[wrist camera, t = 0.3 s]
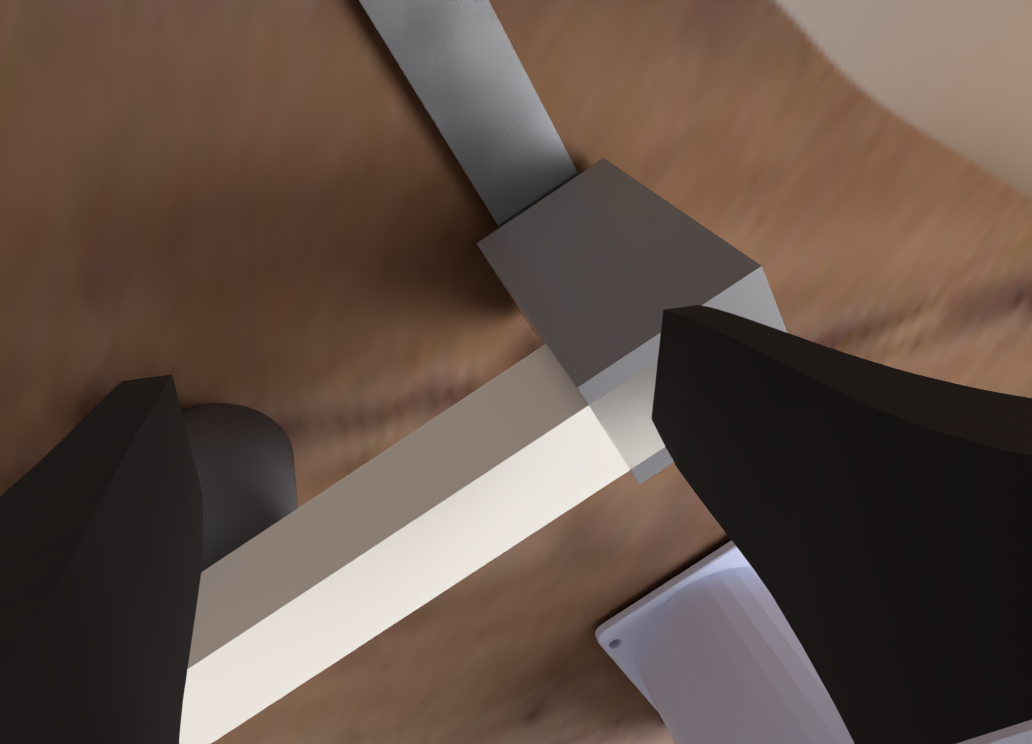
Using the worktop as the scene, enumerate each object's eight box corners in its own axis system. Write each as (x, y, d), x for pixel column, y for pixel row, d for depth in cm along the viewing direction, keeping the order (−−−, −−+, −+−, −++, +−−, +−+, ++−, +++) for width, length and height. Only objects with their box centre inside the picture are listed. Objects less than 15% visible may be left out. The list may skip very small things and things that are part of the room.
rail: (636, 292, 23) (642, 297, 23) (567, 338, 23) (572, 344, 23) (445, -76, 17) (449, -75, 17) (351, -11, 17) (353, -10, 17)
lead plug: (321, 467, 23) (338, 587, 19) (212, 540, 23) (204, 675, 19) (230, 377, 21) (226, 491, 17) (109, 459, 21) (76, 592, 17)
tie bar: (646, 246, 22) (804, 376, 16) (171, 562, 22) (143, 808, 16) (603, 157, 20) (761, 266, 14) (90, 502, 21) (24, 752, 15)
